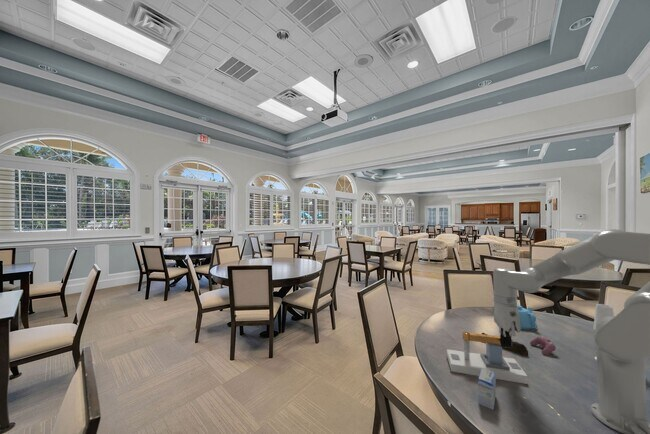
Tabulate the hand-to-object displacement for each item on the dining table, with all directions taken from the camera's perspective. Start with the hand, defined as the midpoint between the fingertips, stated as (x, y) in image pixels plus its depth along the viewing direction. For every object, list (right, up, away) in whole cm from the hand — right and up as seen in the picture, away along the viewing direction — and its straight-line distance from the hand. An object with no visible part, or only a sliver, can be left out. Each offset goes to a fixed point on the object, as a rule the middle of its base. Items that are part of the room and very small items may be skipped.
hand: (505, 345), depth 96 cm
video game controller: (+32, -12, +19) cm, 39 cm away
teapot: (+42, -13, +46) cm, 63 cm away
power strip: (-6, -12, +5) cm, 15 cm away
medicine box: (-16, -13, -13) cm, 24 cm away
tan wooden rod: (-5, -1, +5) cm, 7 cm away
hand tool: (+15, -13, +22) cm, 30 cm away
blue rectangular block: (-2, -9, +4) cm, 10 cm away
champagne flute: (+51, -12, +9) cm, 53 cm away
